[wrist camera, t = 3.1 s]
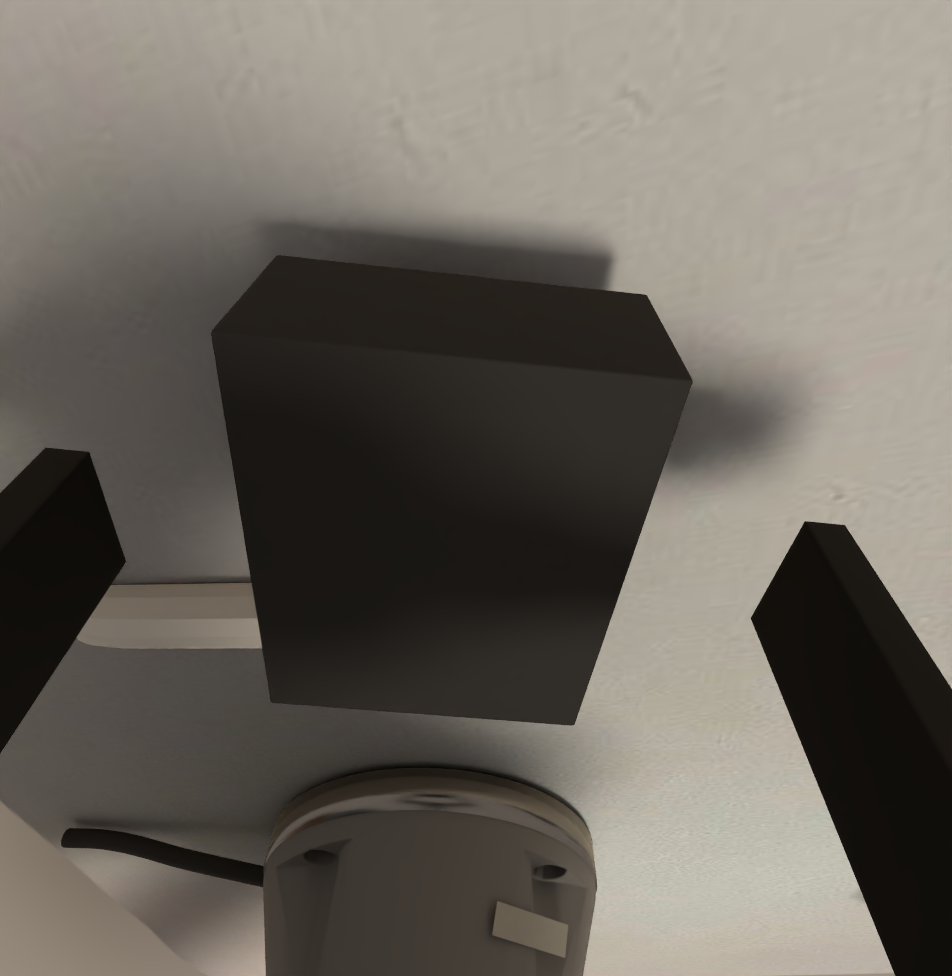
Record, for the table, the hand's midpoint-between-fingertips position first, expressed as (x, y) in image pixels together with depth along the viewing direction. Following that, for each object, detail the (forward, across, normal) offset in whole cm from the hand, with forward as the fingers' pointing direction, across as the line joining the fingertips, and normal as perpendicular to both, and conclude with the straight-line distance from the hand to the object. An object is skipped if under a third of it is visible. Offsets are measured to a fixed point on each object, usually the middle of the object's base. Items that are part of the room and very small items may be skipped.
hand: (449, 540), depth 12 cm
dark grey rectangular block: (+5, 0, 0) cm, 5 cm away
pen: (+5, -5, -7) cm, 10 cm away
